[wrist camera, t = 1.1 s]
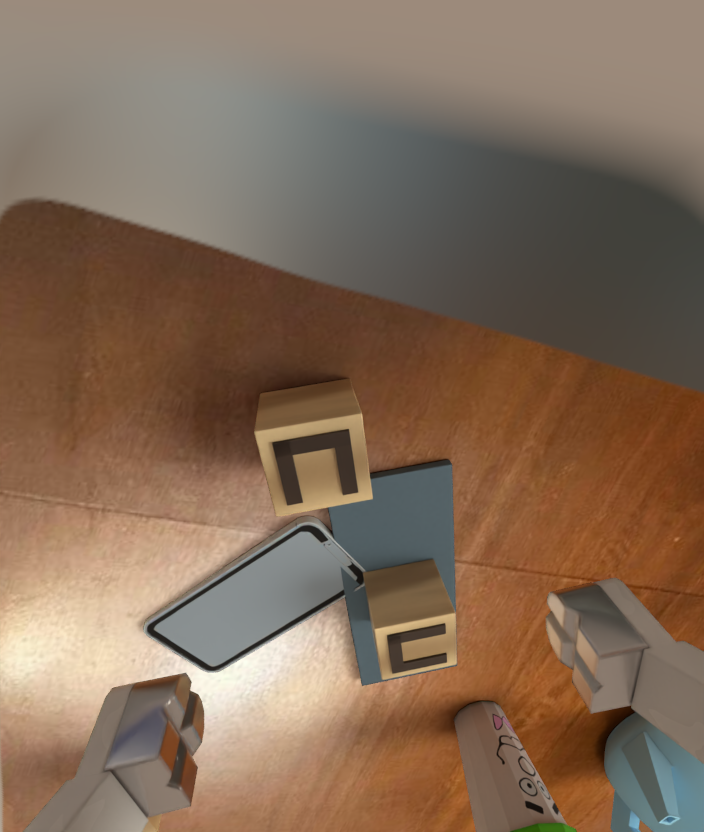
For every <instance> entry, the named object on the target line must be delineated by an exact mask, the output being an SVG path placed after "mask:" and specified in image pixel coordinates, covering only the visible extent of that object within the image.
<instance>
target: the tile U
mask: <svg viewBox="0 0 704 832" xmlns="http://www.w3.org/2000/svg"><path fill="white" fill-rule="evenodd" d="M363 577H364V584H365V590H366V596H367V602H368V609H369V615H370V621H371V626H372V631H373V637H374V642H375V647H376V652H377V657H378V662H379V667H380V672H381V678H382V680H386V679H390V678H395V677H400V676H405V675H409V674H414V673H419V672H424V671H428V670H433V669H438V668H442V667H447V666H452V665H456V664H457V652H456V613H455V610H454V608H453V605H452V603H451V601H450V598H449V596H448V593H447V591H446V588H445V586H444V583H443V581H442V578H441V576H440V573H439V571H438V569H437V566H436V564H435V561H434V559H430V560H425V561H420V562H415V563H410V564H405V565H400V566H394V567H389V568H384V569H379V570H374V571H369V572H364V573H363Z"/></svg>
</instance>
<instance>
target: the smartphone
mask: <svg viewBox="0 0 704 832" xmlns="http://www.w3.org/2000/svg"><path fill="white" fill-rule="evenodd" d="M340 566H341V567H342V568H343V569H344V570H345V571H346V572H347V573H348V574H349V575H350V576H351V577H352V578H353V579H354V580H355V581H356V582H358V583H359V584H360V585H359V586H357V587H356V588H354V589H357V590H358V589H360V588H361V587H363V586H364V585H365V584H364V577H363V573H364V572H366V571H365V570H364V569H363V568H362V567H361V566H360V565H359V564H358V563H357V562H356V561H355V560H354V559H353V558H352V557H351V556H350V555H349V554H348V553H347V552H346V551H345V550H344V549H343V548H342V547H341V546H340V545H339V544H338V543H337V542H336V541H335V540H334V537H333V533H332V532H331V531H330V530H329V529H328V528H327V527H326V526H325V525H324V524H323V523H322V522H321V521H320V520H319V519H317V518H315V517H312V516H303V517H300V518H298V519H296V520H295V521H293V522H292V523H290V524H289V525H287V526H285V527H284V528H282V529H281V530H279V531H278V532H276V533H275V534H273V535H272V536H270V537H269V538H267V539H266V540H264V541H263V542H261V543H260V544H258V545H257V546H255V547H254V548H252V549H251V550H249V551H248V552H246V553H245V554H243V555H242V556H240V557H239V558H237V559H236V560H234V561H233V562H231V563H230V564H228V565H227V566H225V567H224V568H222V569H221V570H219V571H218V572H216V573H215V574H213V575H212V576H210V577H209V578H207V579H206V580H204V581H203V582H201V583H200V584H198V585H197V586H195V587H194V588H192V589H191V590H189V591H188V592H186V593H185V594H184V595H182V596H181V597H179V598H178V599H176V600H175V601H173V602H172V603H170V604H169V605H167V606H166V607H164V608H163V609H161V610H160V611H158V612H157V613H155V614H154V615H152V616H151V617H149V618H148V619H147V620H146V622H145V624H144V628H143V630H144V633H145V634H146V635H147V636H148V637H150V638H151V639H153V640H155V641H156V642H158V643H159V644H161V645H163V646H164V647H166V648H167V649H169V650H171V651H172V652H174V653H175V654H177V655H179V656H180V657H182V658H184V659H185V660H187V661H188V662H190V663H192V664H193V665H195V666H196V667H198V668H200V669H201V670H203V671H205V672H211V673H214V672H219V671H221V670H223V669H225V668H227V667H228V666H230V665H232V664H233V663H235V662H237V661H238V660H240V659H242V658H243V657H245V656H247V655H248V654H250V653H252V652H254V651H255V650H257V649H259V648H260V647H262V646H264V645H265V644H267V643H269V642H270V641H272V640H274V639H275V638H277V637H279V636H280V635H282V634H284V633H286V632H287V631H289V630H291V629H292V628H294V627H296V626H297V625H299V624H301V623H302V622H304V621H306V620H307V619H309V618H311V617H312V616H314V615H316V614H318V613H319V612H321V611H323V610H324V609H326V608H328V607H329V606H331V605H333V604H334V603H336V602H338V601H339V600H341V599H343V598H344V597H345V593H344V587H343V581H342V574H341V568H340ZM355 591H356V590H355Z"/></svg>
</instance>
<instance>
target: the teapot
mask: <svg viewBox="0 0 704 832" xmlns="http://www.w3.org/2000/svg"><path fill="white" fill-rule="evenodd" d="M604 767H605V772H606V776H607V778H608V779H609V781H610V783H611V784H612V786H613V788H614V789H615V792H614V802H613V811H612V820H611V830H612V831H613V832H640V830H639V822H640V820H641V821H642V822H643V823H644V824H646V825H647V826H648V827H649V828H650V829H651V830H652V831H654V832H704V764H703V763H702V762H700V761H699V760H698V759H697V758H695V757H694V756H693V755H691V754H690V753H689V752H687V751H686V750H685V749H684V748H682V747H681V746H680V745H678V744H677V743H676V742H674V741H673V740H672V739H671V738H669V737H668V736H667V735H665V734H664V733H663V732H662V731H660V730H659V729H658V728H656V727H655V726H654V725H652V724H651V723H650V722H649V721H647V720H646V719H645V718H643V717H642V716H641V715H639V714H638V713H637V712H635V713H633V714H632V715H630V716H629V717H627V718H626V719H625V720H623V721H622V722H621V723H620V724H619V725H618V726H616V727H615V729H614V730H613V731H612V732H611V734H610V735H609V737H608V739H607V742H606V748H605V758H604Z"/></svg>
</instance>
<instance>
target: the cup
mask: <svg viewBox="0 0 704 832" xmlns="http://www.w3.org/2000/svg"><path fill="white" fill-rule="evenodd" d="M454 722H455V727H456V732H457V737H458V742H459V747H460V753H461V758H462V763H463V768H464V773H465V778H466V783H467V788H468V793H469V798H470V803H471V808H472V814H473V819H474V824H475V829H476V832H577V831H576V829H574V828H572V827H570V826H568V825H567V824H566V822H565V820H564V819H563V817H562V815H561V813H560V811H559V810H558V808H557V806H556V804H555V803H554V801H553V799H552V797H551V796H550V794H549V792H548V790H547V788H546V787H545V785H544V783H543V781H542V780H541V778H540V776H539V774H538V772H537V771H536V769H535V767H534V765H533V764H532V762H531V760H530V758H529V757H528V755H527V753H526V751H525V749H524V748H523V746H522V744H521V742H520V741H519V739H518V737H517V735H516V734H515V732H514V730H513V728H512V726H511V725H510V723H509V721H508V719H507V718H506V716H505V714H504V712H503V711H502V709H501V707H500V706H499V705H498V704H496V703H494V702H492V701H480V702H476V703H473V704H469V705H467V706H466V707H464V708H463V709H461V710H460V711H459V712H458V713H457V715H456V717H455V718H454Z"/></svg>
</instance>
